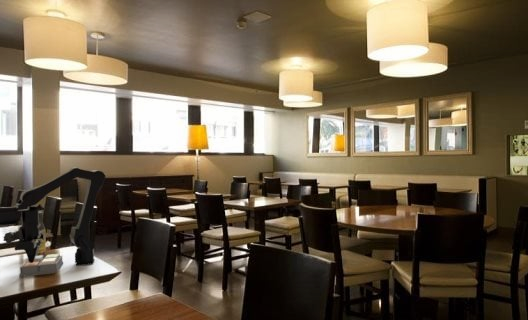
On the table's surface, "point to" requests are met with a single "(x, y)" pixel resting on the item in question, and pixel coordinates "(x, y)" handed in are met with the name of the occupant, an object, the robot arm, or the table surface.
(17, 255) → the table surface
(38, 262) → the terracotta key
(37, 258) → the grey key
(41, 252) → the sauce bottle
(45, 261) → the cream key
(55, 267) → the keypad housing
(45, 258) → the sage key
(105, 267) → the table surface
